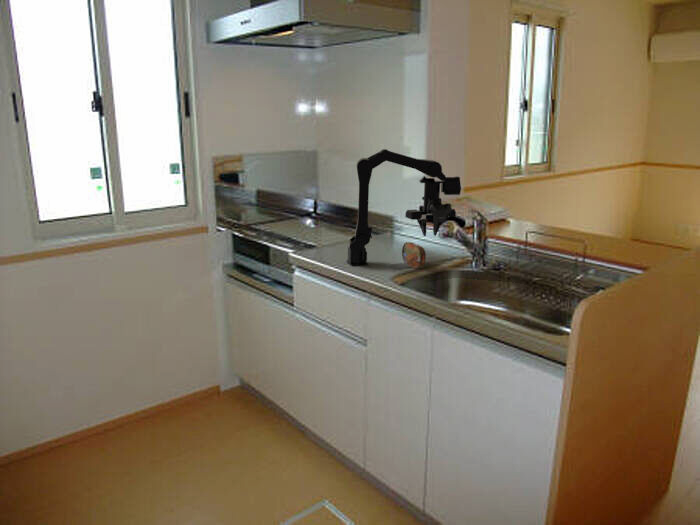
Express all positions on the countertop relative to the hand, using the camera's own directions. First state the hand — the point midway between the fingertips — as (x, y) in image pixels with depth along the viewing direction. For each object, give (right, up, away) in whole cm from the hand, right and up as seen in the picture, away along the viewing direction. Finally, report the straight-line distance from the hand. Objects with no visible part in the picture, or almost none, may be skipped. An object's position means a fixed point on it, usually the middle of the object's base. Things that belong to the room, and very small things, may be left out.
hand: (429, 235), depth 207 cm
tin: (-6, -11, +1) cm, 13 cm away
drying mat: (-11, -12, -1) cm, 16 cm away
